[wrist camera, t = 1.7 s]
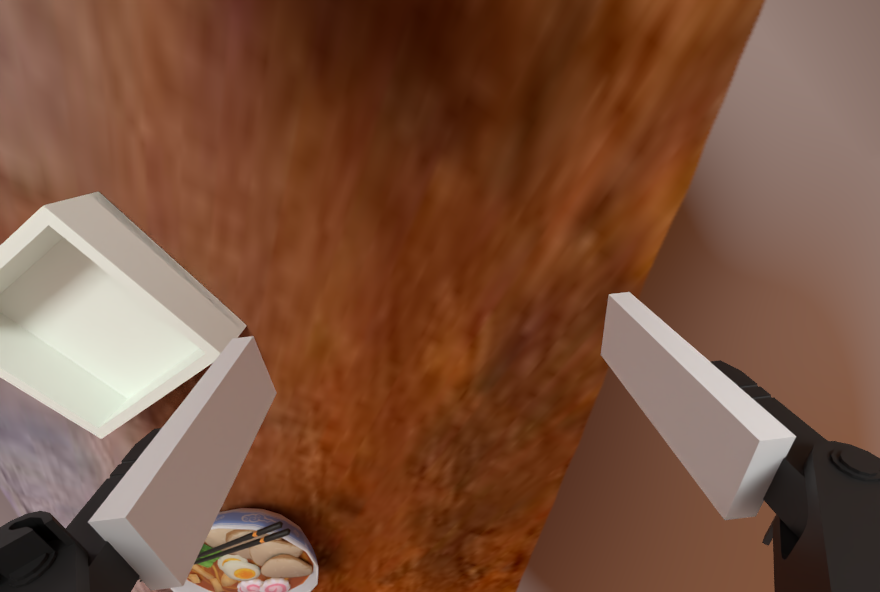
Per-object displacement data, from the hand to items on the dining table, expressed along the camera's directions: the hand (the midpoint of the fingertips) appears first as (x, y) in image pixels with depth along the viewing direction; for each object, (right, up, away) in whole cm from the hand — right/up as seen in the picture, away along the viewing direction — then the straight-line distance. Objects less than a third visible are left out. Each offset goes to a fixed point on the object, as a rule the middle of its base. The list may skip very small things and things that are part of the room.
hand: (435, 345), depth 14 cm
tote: (-36, 0, +28) cm, 46 cm away
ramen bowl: (-30, -36, +47) cm, 66 cm away
